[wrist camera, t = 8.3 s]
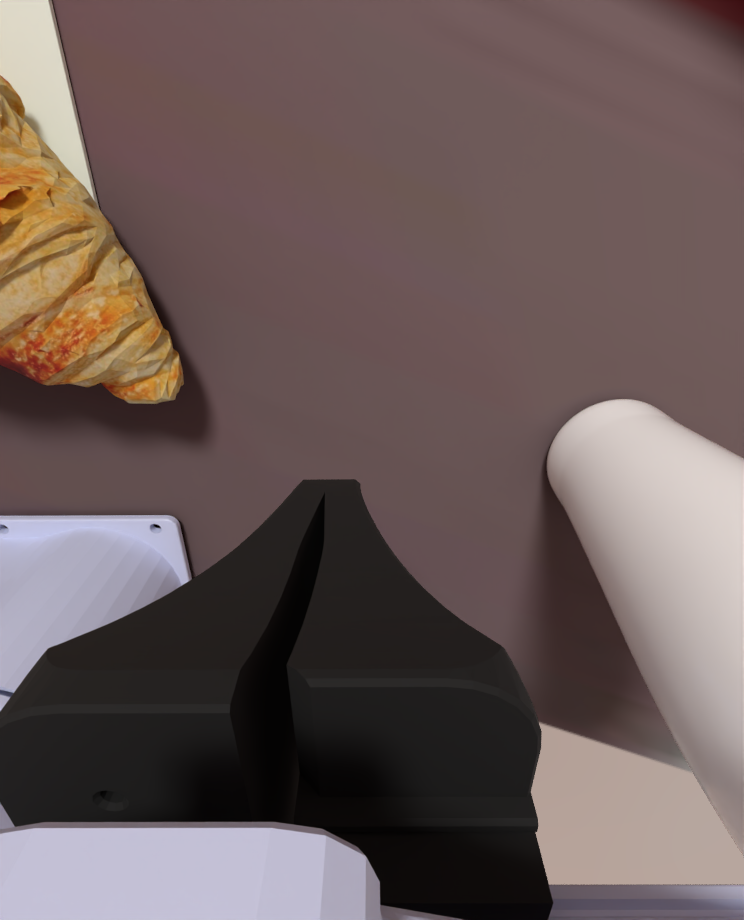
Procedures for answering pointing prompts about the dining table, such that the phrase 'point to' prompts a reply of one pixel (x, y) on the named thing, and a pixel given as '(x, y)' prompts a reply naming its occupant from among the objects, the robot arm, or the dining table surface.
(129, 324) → the croissant
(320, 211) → the dining table surface
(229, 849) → the robot arm
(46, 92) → the mat
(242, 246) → the dining table surface
